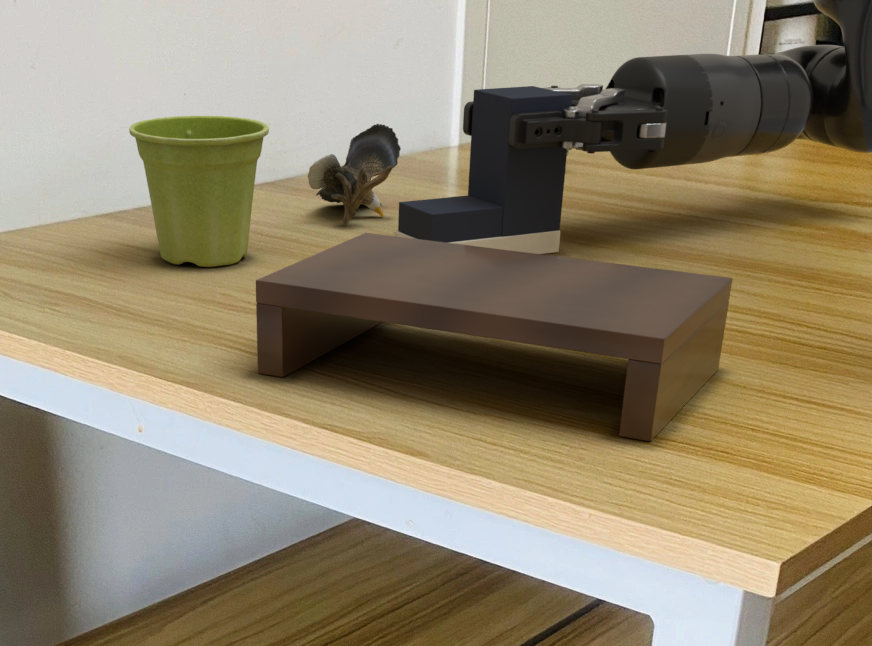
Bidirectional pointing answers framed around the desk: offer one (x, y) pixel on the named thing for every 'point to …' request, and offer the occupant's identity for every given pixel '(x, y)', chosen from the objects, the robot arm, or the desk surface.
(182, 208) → the plant pot
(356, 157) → the eagle figurine
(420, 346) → the desk surface
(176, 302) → the desk surface
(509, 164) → the boot
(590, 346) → the monitor riser stand
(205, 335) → the desk surface
